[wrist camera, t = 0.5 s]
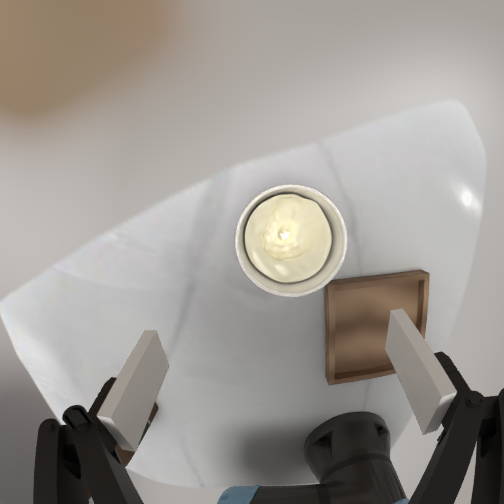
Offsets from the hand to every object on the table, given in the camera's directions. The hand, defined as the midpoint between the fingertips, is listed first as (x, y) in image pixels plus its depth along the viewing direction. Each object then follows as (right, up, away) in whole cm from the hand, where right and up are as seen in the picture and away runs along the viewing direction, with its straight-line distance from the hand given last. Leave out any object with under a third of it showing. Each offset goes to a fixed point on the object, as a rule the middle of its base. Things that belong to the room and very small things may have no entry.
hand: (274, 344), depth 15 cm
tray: (+16, -5, +22) cm, 28 cm away
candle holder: (+3, +7, +22) cm, 23 cm away
